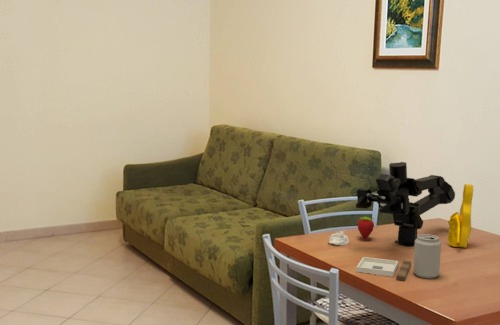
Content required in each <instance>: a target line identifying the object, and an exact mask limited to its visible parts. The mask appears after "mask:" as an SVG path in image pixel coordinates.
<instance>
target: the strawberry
mask: <svg viewBox="0 0 500 325" xmlns="http://www.w3.org/2000/svg"><path fill="white" fill-rule="evenodd" d="M373 220H374V218H372V217H369V216H363V217H361V216H360V217H359V218H358V221H357V224H356V225H357V229H358V231H359V234H360V236H361V238H362V239H363V240H364V239H365V240H367V239H368V237H369V236H370V235H371V234H372V232H373V231H374V228H375V227H374V226H375V224H374V221H373Z"/></svg>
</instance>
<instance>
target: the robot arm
mask: <svg viewBox="0 0 500 325" xmlns="http://www.w3.org/2000/svg"><path fill="white" fill-rule="evenodd" d="M388 166H389V167H388V170H389V174H384V173H381V174H380V175H379V176H378V177H377V178H376V179H375V183H376V185H377V188H378V189H376V193H372V190H371V189H370V188H364V187H360V188H359V189H357V191H356V194H357V202H356V203H355V209H368V208H370V207H371V206H372V204H373V202H374V203H375V202H376V203H377V204H378V208H379V213H380V214H381V213H382V214H388V215H389V214H391V215H392V218H393V223H394V226H398V231H397V240H395V241H394V243H396V244H399V245H402V246H405V247H406V246H407V247H412V246H415V240H416V239H417V238H418V237H417V236H418V230H422V229H423V225H424V220H423V218H422V217H421V215H423V214H424V213H426V212H428V211H430V210H432V209H433V208H435V207H436V206H439V205H447V204H451V203H452V202H453V201H454V200H455V197H456V192H455V191H454V188H453V186H452V184H450V183H448V182H447V181H445V178H444V177H443V176H441V175H435V174H434V175H433V174H431V175H428V176H424V177H420V178H416V179H415V178H412V177H408V172H407V171H408V169H407V168H408V167H407V162H405V161H404V162H403V161H400V162H390V163H389V164H388ZM423 191H427V192H428V194H427V195H425V196H423V197H422V198H420V199H418V200H417V201H414V202H410V198H409V197H419V196H420V195H422V194H423Z"/></svg>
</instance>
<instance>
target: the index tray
mask: <svg viewBox="0 0 500 325" xmlns="http://www.w3.org/2000/svg"><path fill="white" fill-rule="evenodd" d="M398 267H399V260H392V259H385V258H375V257H367V256H362V258H361V260H360V261H359V263H358V264H357V265H356V268H355V270H356V271H355V272H356V273H359V272H363V273H362V274H367V273H370V274H369V275H375V274H376V275H375V276H382V277H383V276H384V277H391V278H393V277H394V275H395V274H396V272H397V270H398Z"/></svg>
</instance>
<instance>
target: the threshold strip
mask: <svg viewBox="0 0 500 325" xmlns="http://www.w3.org/2000/svg"><path fill="white" fill-rule="evenodd" d="M411 266H412V261H411V260H403V261H402V263H401V264H400V267H399V270H398V272H397V274H396V276H395V281H401V282H405V281H406V279H407V276H408V274H409V271H410V269H411Z"/></svg>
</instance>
